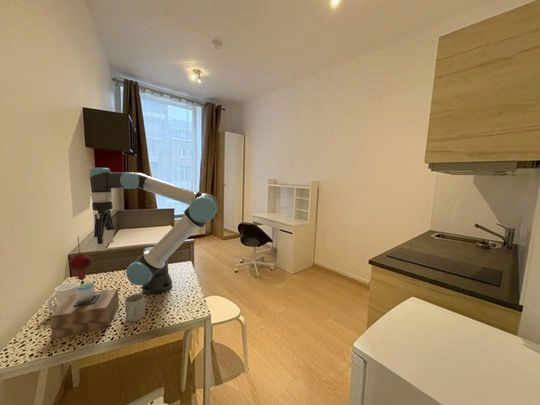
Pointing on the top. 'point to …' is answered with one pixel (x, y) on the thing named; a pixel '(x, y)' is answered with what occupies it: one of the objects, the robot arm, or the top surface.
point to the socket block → (84, 314)
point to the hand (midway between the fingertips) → (106, 246)
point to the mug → (63, 294)
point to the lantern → (80, 264)
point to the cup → (135, 307)
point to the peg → (86, 292)
